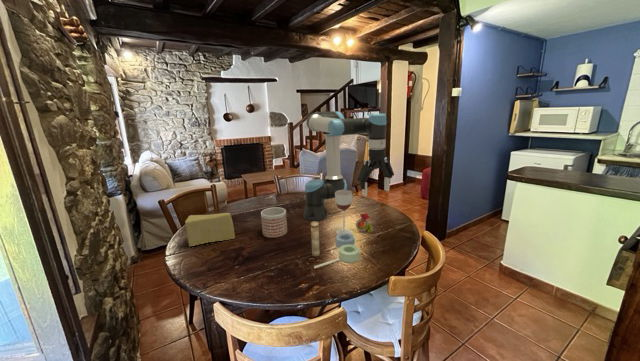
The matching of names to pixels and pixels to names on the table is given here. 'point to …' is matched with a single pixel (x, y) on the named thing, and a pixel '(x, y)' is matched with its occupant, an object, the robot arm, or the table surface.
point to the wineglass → (343, 206)
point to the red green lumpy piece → (361, 225)
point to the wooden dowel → (315, 238)
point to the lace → (326, 263)
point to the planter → (274, 222)
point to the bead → (349, 253)
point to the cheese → (209, 228)
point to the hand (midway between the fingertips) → (375, 193)
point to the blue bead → (345, 239)
